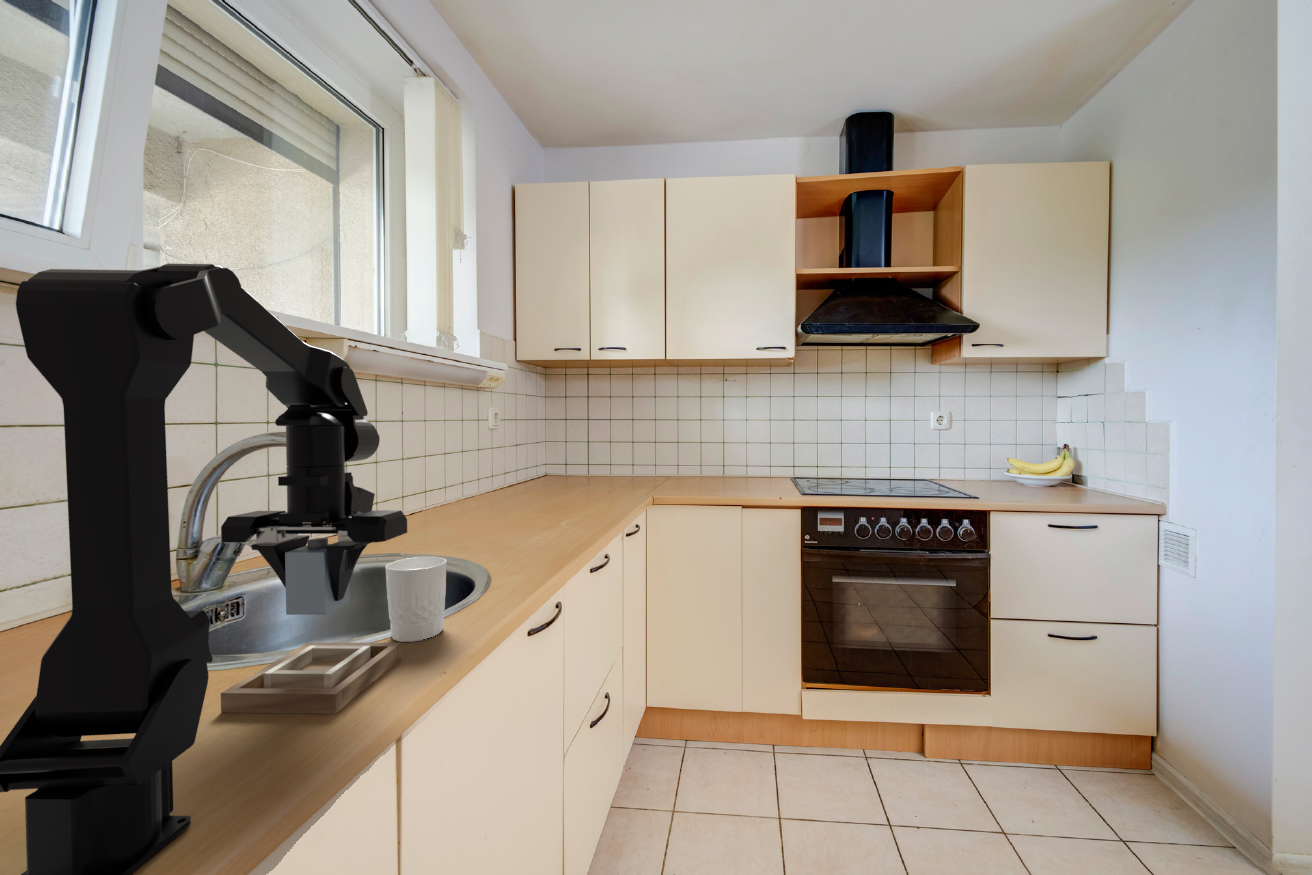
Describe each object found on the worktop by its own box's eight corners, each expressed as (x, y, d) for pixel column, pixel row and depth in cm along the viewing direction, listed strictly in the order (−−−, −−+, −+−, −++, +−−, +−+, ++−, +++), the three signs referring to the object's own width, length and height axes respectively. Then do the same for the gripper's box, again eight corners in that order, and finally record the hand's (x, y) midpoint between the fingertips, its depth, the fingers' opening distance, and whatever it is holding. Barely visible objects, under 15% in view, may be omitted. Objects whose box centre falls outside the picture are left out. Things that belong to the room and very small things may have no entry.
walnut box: (335, 713, 55) (335, 693, 55) (221, 712, 55) (220, 691, 55) (401, 658, 68) (400, 642, 68) (307, 657, 68) (307, 641, 68)
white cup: (415, 620, 81) (414, 554, 81) (459, 626, 79) (458, 558, 78) (373, 640, 74) (372, 567, 73) (420, 647, 71) (419, 572, 71)
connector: (325, 614, 60) (324, 543, 60) (286, 614, 60) (284, 543, 60) (349, 601, 65) (348, 535, 65) (313, 601, 65) (312, 535, 65)
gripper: (427, 461, 70) (429, 580, 70) (287, 462, 71) (289, 580, 71) (380, 467, 59) (383, 609, 59) (215, 468, 60) (218, 608, 60)
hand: (318, 599), depth 63 cm, fingers closed on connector, 4 cm apart
